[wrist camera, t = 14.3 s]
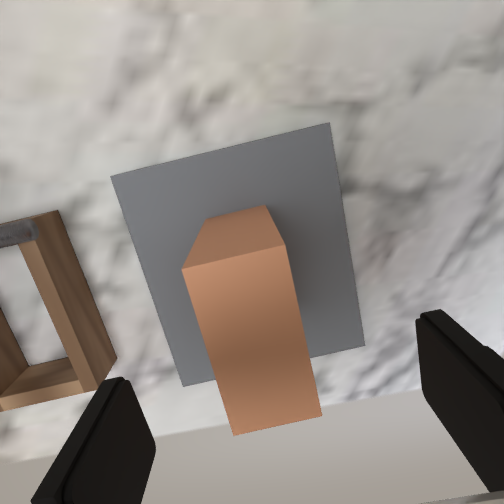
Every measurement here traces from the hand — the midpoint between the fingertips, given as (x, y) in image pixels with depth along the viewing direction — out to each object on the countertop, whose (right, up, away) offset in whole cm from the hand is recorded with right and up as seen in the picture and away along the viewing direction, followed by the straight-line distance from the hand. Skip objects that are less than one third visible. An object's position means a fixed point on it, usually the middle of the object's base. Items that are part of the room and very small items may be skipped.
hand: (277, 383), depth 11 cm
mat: (-1, +3, +13) cm, 14 cm away
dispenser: (-16, +1, +13) cm, 21 cm away
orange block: (-1, +3, +13) cm, 13 cm away
